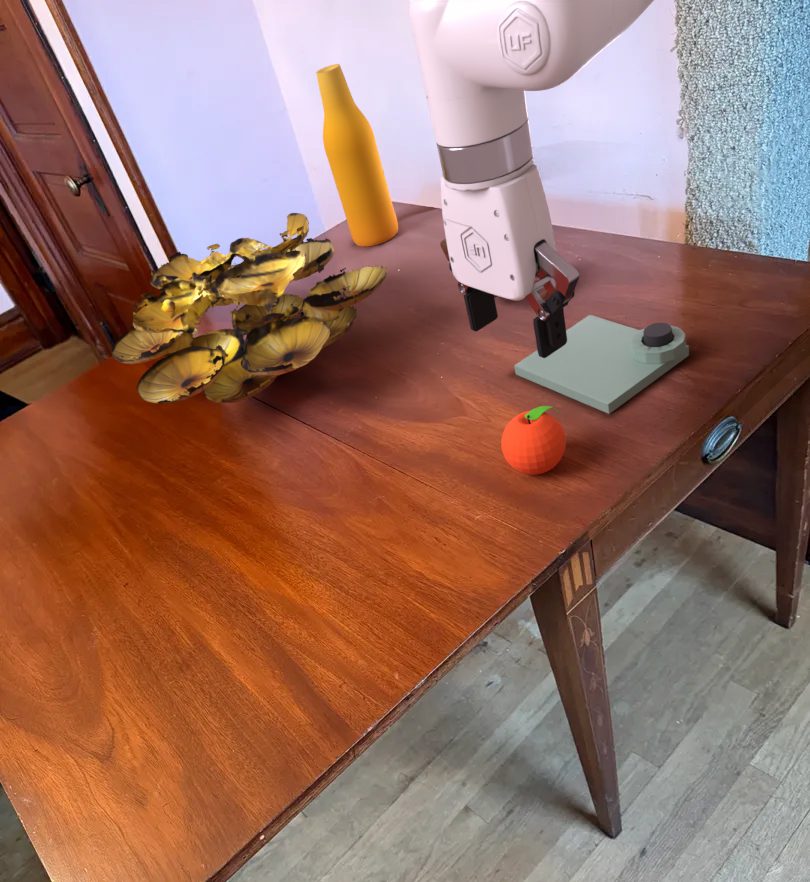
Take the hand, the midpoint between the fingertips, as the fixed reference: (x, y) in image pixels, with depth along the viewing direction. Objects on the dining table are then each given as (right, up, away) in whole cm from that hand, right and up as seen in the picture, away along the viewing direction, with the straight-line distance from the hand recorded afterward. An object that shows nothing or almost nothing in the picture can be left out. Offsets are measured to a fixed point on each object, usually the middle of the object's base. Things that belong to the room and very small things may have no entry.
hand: (517, 336), depth 73 cm
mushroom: (-32, +7, +44) cm, 55 cm away
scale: (+14, +2, +21) cm, 26 cm away
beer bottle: (-16, +39, +72) cm, 83 cm away
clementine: (+4, -12, +11) cm, 16 cm away
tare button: (+19, +4, +17) cm, 26 cm away
